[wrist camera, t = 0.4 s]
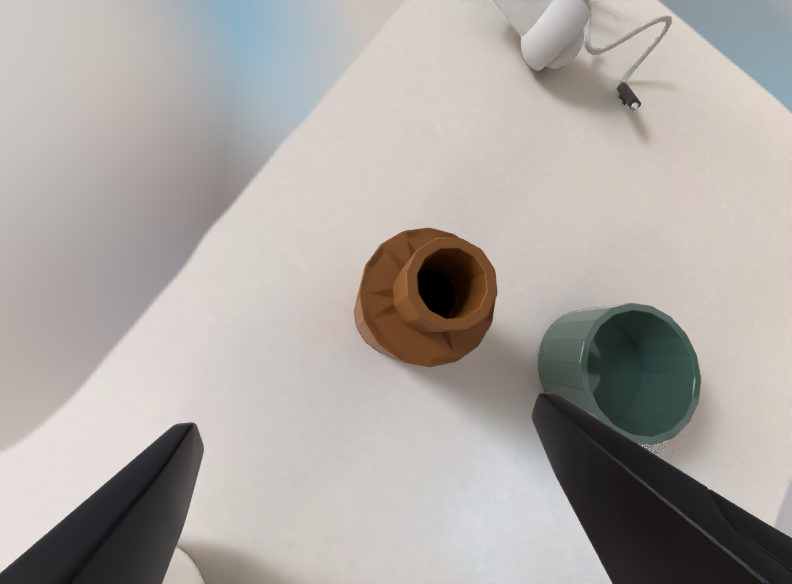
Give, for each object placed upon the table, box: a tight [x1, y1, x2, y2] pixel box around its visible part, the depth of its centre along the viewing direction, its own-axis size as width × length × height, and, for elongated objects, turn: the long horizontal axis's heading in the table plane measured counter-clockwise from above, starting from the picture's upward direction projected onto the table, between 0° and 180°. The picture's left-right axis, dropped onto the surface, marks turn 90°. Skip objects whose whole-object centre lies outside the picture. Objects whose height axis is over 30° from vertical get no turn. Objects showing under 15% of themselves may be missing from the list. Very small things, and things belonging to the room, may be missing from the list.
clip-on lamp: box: [493, 0, 672, 112], centre depth 27 cm, size 12×6×18 cm
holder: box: [538, 303, 701, 445], centre depth 23 cm, size 9×9×5 cm
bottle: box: [354, 228, 497, 367], centre depth 17 cm, size 6×6×13 cm
